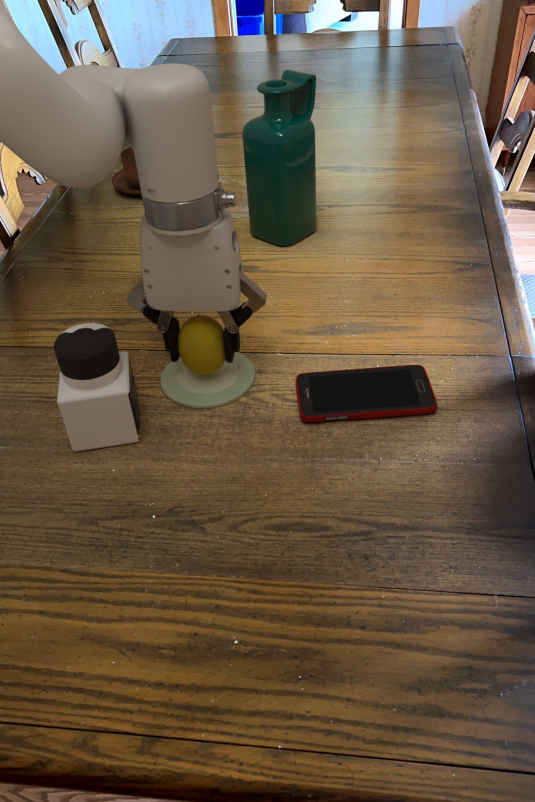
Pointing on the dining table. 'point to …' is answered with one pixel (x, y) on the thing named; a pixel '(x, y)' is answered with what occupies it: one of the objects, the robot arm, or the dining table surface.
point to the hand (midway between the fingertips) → (204, 353)
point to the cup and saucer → (127, 174)
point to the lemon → (201, 345)
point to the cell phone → (364, 393)
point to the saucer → (208, 383)
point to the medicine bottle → (96, 388)
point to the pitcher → (282, 161)
